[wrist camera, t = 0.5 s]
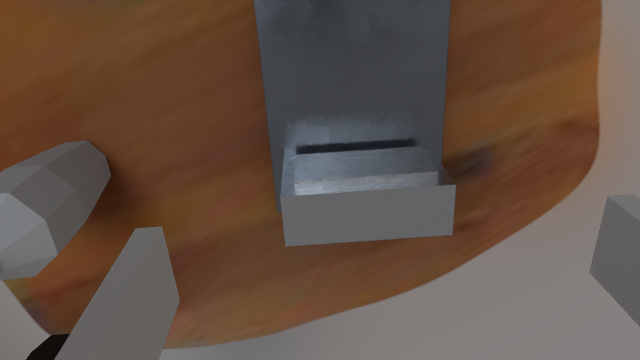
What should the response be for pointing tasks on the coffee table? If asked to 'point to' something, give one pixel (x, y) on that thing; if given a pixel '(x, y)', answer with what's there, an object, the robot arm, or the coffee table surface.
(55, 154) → the low poly bottle
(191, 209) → the coffee table surface
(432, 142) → the vise
